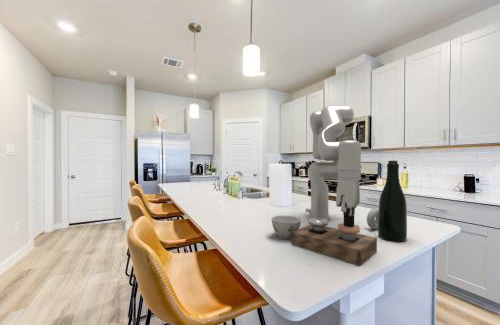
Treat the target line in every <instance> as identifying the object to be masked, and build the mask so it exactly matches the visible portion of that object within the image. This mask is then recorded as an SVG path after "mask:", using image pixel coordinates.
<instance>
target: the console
mask: <svg viewBox="0 0 500 325" xmlns="http://www.w3.org/2000/svg"><path fill="white" fill-rule="evenodd" d="M291 245H294V246H296V247H300V248H303V249H306V250H309V251H312V252H315V253H318V254H322V255H324V256H328V257H331V258H333V259H334V258H335V259H336V260H340V261H343V262H346V263H350V264H353V265H355V266H360V267H361V266H362V265H363V264H364V263H366V261H369V259H370V258H372V256H374V255H375V254H376V253H377V252H378V249H377V248H378V237H375V236H371V235H367V234H362V233H356V242H354V243H352V242H348V241H345V240H341V231H339V230H338V228H334V227H330V226H325V233H324V234H322V235H321V234H317V233H313V232H312V225H311V224H307V225H305V226H303V227H299V229H297V230H295V231H292V238H291Z"/></svg>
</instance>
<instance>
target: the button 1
mask: <svg viewBox="0 0 500 325" xmlns="http://www.w3.org/2000/svg"><path fill="white" fill-rule="evenodd" d="M328 222H329V220H327V219H324V218H316V217H315V218H308V225H310V224H311V225H312V232H313V233H317V234H321V235H322V234H324V233H325V226H326V227H328V225H329V223H328Z"/></svg>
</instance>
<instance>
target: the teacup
mask: <svg viewBox="0 0 500 325" xmlns="http://www.w3.org/2000/svg"><path fill="white" fill-rule="evenodd" d="M301 222H302V220H301V218H300V217H298V216H295V215H294V216H293V215H275V216H272V217H271V224H272V228H273V230H274V232H275V233H276V235H278V237H279V238H280V239H286V240H289V239H292V231H295V230H297V229H300V228H301V227H300V226H301Z"/></svg>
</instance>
